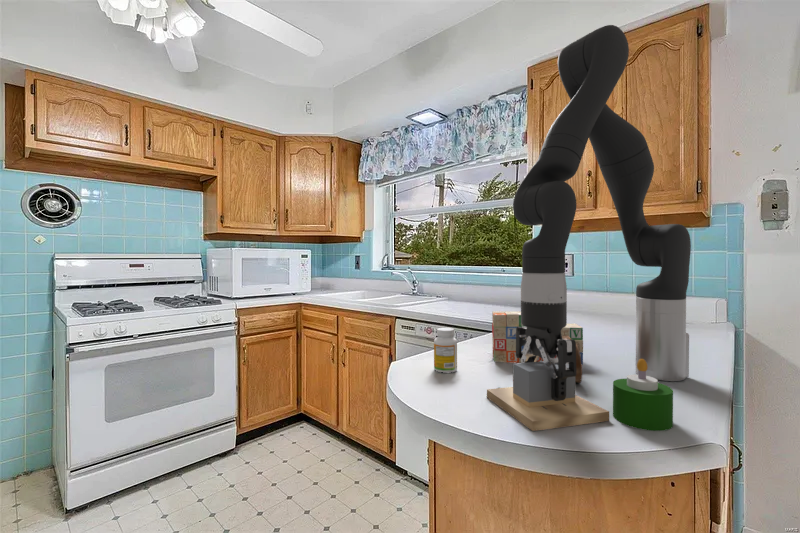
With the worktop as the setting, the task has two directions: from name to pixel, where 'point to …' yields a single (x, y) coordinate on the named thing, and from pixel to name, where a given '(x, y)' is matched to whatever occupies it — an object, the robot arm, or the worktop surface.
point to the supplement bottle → (445, 351)
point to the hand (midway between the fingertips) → (543, 391)
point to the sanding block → (538, 384)
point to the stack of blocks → (506, 336)
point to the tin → (578, 362)
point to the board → (548, 411)
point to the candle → (643, 401)
